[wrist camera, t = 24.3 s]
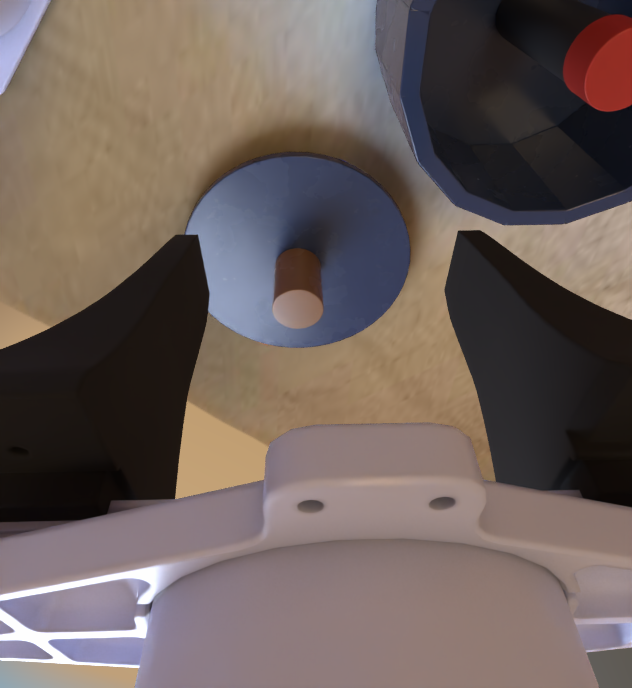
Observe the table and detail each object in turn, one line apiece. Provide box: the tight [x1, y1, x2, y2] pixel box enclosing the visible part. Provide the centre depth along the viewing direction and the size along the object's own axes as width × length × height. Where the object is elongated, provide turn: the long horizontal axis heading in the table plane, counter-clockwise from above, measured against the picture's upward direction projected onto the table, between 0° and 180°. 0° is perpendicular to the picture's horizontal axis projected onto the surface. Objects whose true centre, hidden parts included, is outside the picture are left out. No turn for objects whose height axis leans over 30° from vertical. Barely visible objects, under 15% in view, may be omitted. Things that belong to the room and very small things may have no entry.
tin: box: [375, 0, 632, 225], centre depth 16 cm, size 11×11×6 cm
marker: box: [496, 0, 632, 112], centre depth 15 cm, size 2×2×8 cm
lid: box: [184, 152, 410, 348], centre depth 24 cm, size 12×12×4 cm
